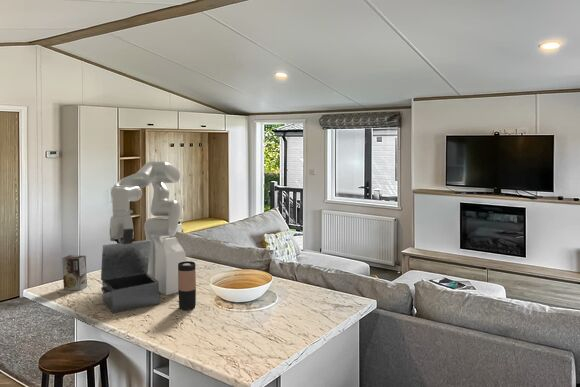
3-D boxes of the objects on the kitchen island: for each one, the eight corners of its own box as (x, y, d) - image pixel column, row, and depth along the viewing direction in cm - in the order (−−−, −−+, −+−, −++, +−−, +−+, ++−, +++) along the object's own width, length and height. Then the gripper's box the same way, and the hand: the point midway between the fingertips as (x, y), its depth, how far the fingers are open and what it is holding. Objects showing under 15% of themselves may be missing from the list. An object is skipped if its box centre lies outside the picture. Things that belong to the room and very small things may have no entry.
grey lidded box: (150, 292, 219) (150, 272, 218) (163, 303, 204) (162, 281, 203) (98, 301, 205) (97, 280, 204) (108, 314, 190) (107, 291, 189)
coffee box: (87, 286, 227) (86, 255, 225) (80, 290, 220) (79, 258, 219) (70, 285, 228) (69, 254, 226) (63, 289, 221) (61, 257, 219)
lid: (147, 273, 216) (146, 271, 217) (152, 228, 207) (151, 226, 208) (101, 280, 204) (100, 278, 205) (104, 232, 195) (103, 231, 196)
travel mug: (180, 304, 203) (179, 261, 200) (197, 304, 203) (196, 261, 201) (177, 310, 195) (176, 265, 193) (195, 310, 196) (194, 265, 193)
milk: (175, 284, 232) (174, 234, 229) (187, 289, 224) (187, 238, 221) (154, 289, 223) (153, 238, 221) (166, 294, 215) (165, 241, 212)
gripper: (135, 211, 217) (136, 248, 219) (102, 213, 208) (103, 252, 210) (139, 213, 211) (140, 251, 213) (106, 215, 202) (107, 255, 204)
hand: (122, 251), depth 211 cm, fingers closed
